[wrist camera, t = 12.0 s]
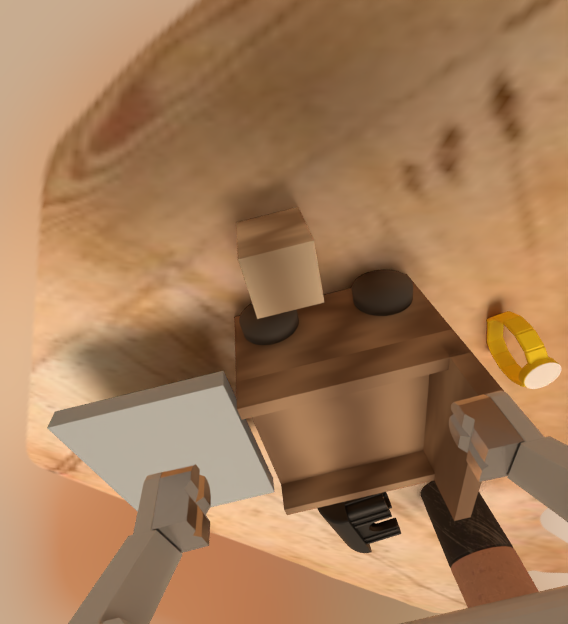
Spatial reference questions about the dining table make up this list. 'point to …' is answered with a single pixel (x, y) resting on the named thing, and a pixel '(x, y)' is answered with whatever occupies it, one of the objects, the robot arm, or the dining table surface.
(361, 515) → the end cap
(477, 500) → the travel mug
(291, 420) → the tray
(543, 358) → the watch
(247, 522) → the dining table surface
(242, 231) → the beech block
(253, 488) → the tailgate
